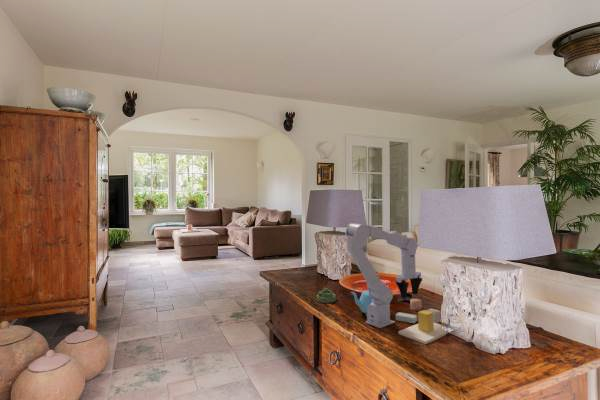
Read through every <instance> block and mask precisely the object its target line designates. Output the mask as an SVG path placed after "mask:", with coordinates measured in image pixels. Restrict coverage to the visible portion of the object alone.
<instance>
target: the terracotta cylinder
mask: <svg viewBox="0 0 600 400" xmlns="http://www.w3.org/2000/svg"><path fill="white" fill-rule="evenodd" d="M409 303H410V304H409V305H410V310H412V311H418V312H419V311H422V310H423V309H422V306H423V304H422V299H419V298H412V299H411V298H410V302H409Z"/></svg>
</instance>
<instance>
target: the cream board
mask: <svg viewBox="0 0 600 400" xmlns="http://www.w3.org/2000/svg"><path fill="white" fill-rule="evenodd" d="M441 325H442V324H440V323H434V330H433V331H431V332H429V333H426V332H423V331H420V330H419V327H418V323H416V324H415V323H414V325H411V326H409V327H406V328H403V329H401V330H398V332H397V333H398V335H401V336H402V337H405V338H409V339H410V340H413V341H416V342H419V343H421V344H424V345H427V344H429V343H432V342H434V341H436V340H438V339H440V338H442V337H444V336H446V334H447V333H448V331H445V330H443V329H442V327H441ZM447 335H448V334H447Z"/></svg>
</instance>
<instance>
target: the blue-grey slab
mask: <svg viewBox="0 0 600 400" xmlns="http://www.w3.org/2000/svg"><path fill="white" fill-rule="evenodd" d="M394 315H395V321H400V322H405V323H411V324H415V323H416V322H418V314H413V313H412V314H411V313H407V312H400V311H399V312H396V313H395V314H394Z"/></svg>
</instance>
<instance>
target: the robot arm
mask: <svg viewBox="0 0 600 400" xmlns="http://www.w3.org/2000/svg"><path fill="white" fill-rule="evenodd" d="M345 236H346V242H347V251H348V253H349V255H350V256H351V258H352V259H353V261H354V263H355V264H356V266H357V268H358V269H359V271H360V272H361V274H362V277H363V278H364V280H365V282H366V283H367V284H366V287H367V290H369V295H370V296H371V297H372V303H371V304H370V305H368V307H367V316H366V318H367V319H366V320H365V323H366V324H368V325H371V326H374V327H376V328H378V329H382V328H385V327H386V326H387V327H388V326H389V325H392V324H395V322H396V320H395V321H394V320H392V319H391V308H390V307H391V306H390V305H391V301H392V299H393V297H394V294H393V290H391V289H390V288H389V287H388V286H387V285H386V284H385V283H384V281H382V280H381V279H380V277H379V275H378V273H377V272H376V270H375V268H374V267H373V265H372V263H371V262H370V260H369V258H368V256H367V255H366V253H365V251H364V250H363V247H364V246H365V244H366V242H367V241H368V239H369V238H372V237H376V238H380V239H383V240H385V242H386V243H387V244H388V245H391V246H393V247H395V248H399V249H400V251H401V252H400V253H401V256H400V257H401V258H400V259H401V274H400V275H398V276H396V278H395V279H396V280H395V284H396V285H397V288H398V290H399V293H400V296H401V298H402V299H403V298H408V297H407V292H408V287H409V284H411V294H412V295H418V294H419V290H420V289H419V288H420V287H421V286H420V285H421V283H422V281H423V277H422V272H421V271H416V270H417V269H416V254H417V249H418V247H419V244H418V242H417V241H416V239H415V238H414V237H408V236H407V234H401V233H399V231H397V230H392V231H389V232H388V231H385V230H383V229H381V228H379V227H375V226H374V225H373V226H372V225H368V224H366V223H355V222H351V223H349V224H348V226H347V227H346V230H345ZM408 280H409V282H406V281H408Z"/></svg>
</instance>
